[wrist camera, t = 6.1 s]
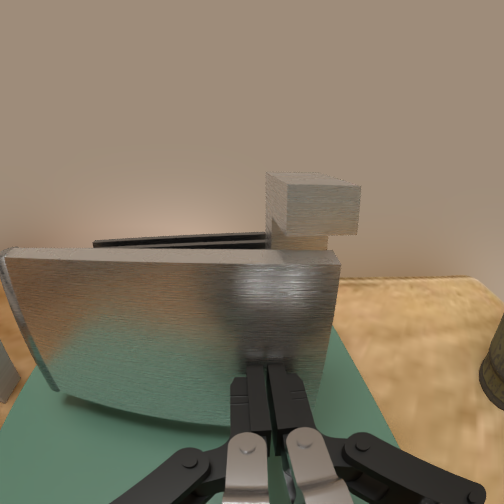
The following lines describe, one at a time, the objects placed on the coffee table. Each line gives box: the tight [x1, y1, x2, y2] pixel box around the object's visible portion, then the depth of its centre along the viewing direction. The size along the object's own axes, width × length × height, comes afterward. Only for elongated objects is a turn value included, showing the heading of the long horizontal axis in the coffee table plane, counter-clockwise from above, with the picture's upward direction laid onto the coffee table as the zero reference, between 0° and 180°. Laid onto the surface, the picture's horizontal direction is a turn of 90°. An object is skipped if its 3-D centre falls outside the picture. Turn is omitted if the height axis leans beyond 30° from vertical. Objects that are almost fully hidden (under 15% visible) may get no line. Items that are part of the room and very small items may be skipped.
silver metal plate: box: [0, 247, 341, 426], centre depth 12 cm, size 18×2×10 cm, turn 87°
